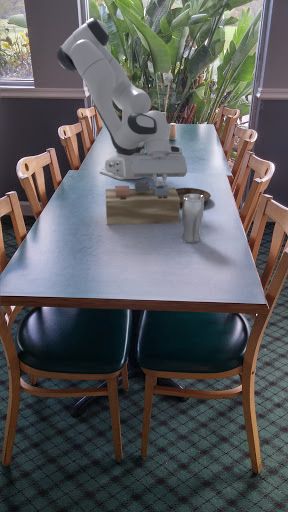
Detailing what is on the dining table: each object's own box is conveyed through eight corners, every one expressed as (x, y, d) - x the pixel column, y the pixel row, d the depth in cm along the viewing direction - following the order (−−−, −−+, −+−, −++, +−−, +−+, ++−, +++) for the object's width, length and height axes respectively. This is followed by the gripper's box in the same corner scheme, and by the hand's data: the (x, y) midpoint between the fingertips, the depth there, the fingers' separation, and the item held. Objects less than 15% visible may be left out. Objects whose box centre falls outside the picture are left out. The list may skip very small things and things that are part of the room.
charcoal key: (134, 187, 167) (134, 181, 166) (147, 186, 168) (147, 181, 167) (135, 191, 163) (135, 186, 162) (149, 191, 163) (149, 186, 162)
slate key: (153, 190, 169) (153, 185, 168) (166, 190, 169) (166, 185, 168) (154, 195, 164) (154, 190, 163) (168, 195, 165) (168, 189, 164)
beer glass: (203, 236, 155) (206, 195, 148) (198, 245, 149) (202, 202, 142) (183, 233, 157) (185, 192, 150) (178, 241, 151) (180, 199, 144)
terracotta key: (115, 190, 167) (115, 185, 166) (128, 190, 168) (128, 185, 167) (115, 195, 163) (115, 190, 162) (129, 195, 163) (129, 190, 162)
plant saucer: (159, 196, 190) (160, 189, 188) (198, 192, 195) (198, 185, 194) (177, 212, 175) (177, 204, 174) (218, 206, 181) (218, 199, 179)
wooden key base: (106, 211, 174) (105, 188, 169) (173, 210, 176) (174, 187, 171) (106, 224, 163) (106, 200, 159) (178, 222, 165) (180, 198, 161)
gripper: (130, 148, 165) (132, 183, 161) (186, 148, 167) (189, 182, 163) (129, 157, 171) (131, 191, 167) (183, 156, 173) (186, 190, 169)
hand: (160, 186), depth 165 cm, fingers closed, pressing on slate key
